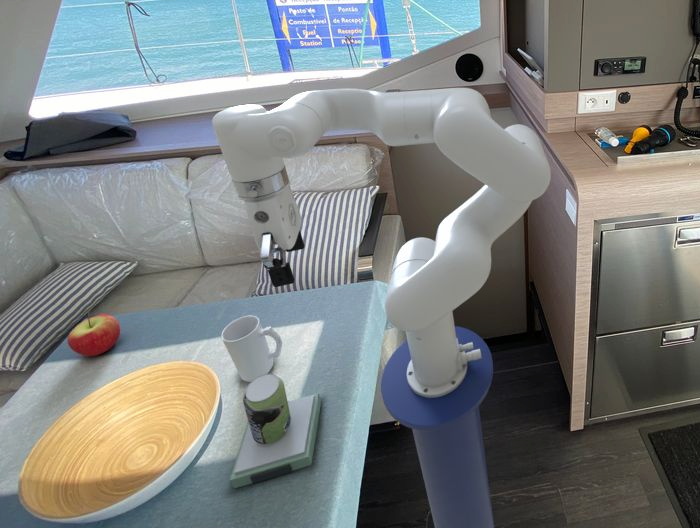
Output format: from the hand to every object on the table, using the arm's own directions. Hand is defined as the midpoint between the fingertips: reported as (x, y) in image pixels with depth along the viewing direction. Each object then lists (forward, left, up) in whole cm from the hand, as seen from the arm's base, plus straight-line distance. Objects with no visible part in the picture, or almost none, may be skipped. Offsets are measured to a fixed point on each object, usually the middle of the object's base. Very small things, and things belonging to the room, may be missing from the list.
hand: (290, 265), depth 74 cm
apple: (+53, -26, -30) cm, 66 cm away
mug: (+14, -8, -30) cm, 34 cm away
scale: (+7, +10, -30) cm, 33 cm away
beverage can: (+7, +10, -27) cm, 30 cm away
